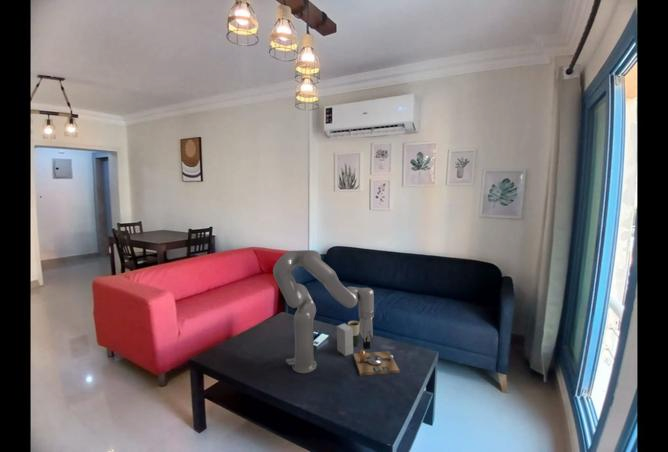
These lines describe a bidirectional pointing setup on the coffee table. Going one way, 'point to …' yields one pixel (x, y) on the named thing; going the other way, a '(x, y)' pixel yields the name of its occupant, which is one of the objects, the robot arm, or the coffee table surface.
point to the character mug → (355, 331)
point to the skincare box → (345, 339)
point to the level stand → (383, 368)
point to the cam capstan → (372, 358)
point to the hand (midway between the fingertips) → (366, 348)
